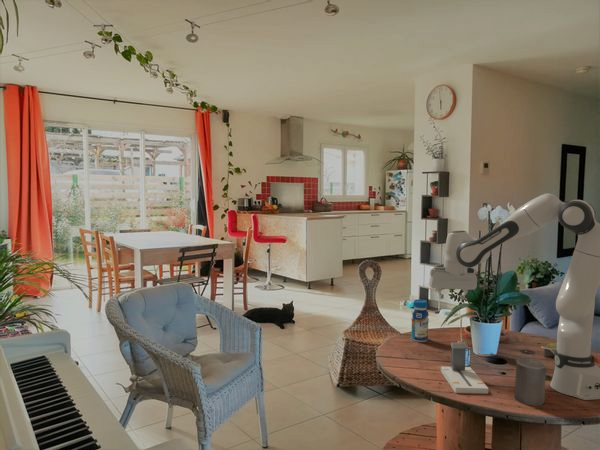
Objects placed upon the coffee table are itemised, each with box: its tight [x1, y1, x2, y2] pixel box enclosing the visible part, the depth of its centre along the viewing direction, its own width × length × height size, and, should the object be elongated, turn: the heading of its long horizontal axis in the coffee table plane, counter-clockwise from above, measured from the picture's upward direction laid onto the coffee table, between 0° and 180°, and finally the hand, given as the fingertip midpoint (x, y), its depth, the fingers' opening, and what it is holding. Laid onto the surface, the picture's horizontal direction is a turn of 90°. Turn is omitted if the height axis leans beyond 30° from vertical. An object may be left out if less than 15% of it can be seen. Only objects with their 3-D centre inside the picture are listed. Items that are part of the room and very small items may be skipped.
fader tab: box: [450, 341, 468, 370], centre depth 189 cm, size 6×2×11 cm, turn 88°
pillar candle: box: [514, 357, 547, 407], centre depth 166 cm, size 10×10×15 cm
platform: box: [541, 342, 557, 358], centre depth 211 cm, size 12×18×7 cm, turn 103°
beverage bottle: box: [410, 299, 430, 343], centre depth 234 cm, size 8×8×20 cm
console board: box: [440, 366, 489, 395], centre depth 182 cm, size 12×21×2 cm, turn 177°
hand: (451, 298), depth 202 cm, fingers open, 8 cm apart
